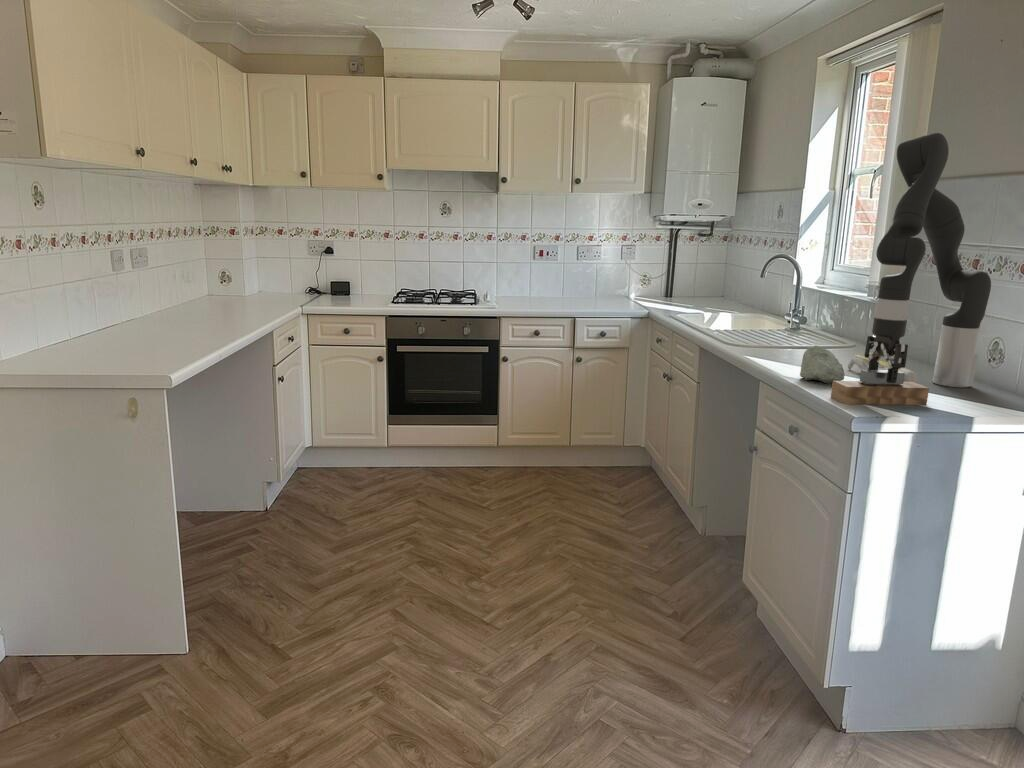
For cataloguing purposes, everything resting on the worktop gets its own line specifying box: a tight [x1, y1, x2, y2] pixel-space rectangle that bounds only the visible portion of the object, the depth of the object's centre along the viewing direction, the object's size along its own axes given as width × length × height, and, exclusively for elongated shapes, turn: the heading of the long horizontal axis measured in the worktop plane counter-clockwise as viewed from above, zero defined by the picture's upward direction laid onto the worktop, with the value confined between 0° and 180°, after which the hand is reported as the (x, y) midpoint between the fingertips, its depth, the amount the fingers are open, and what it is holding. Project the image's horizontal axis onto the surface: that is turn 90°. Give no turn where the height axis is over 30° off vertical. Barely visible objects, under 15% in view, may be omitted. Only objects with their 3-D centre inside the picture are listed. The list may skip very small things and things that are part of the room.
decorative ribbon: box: [847, 354, 918, 383], centre depth 212 cm, size 8×6×30 cm
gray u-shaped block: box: [859, 369, 905, 386], centre depth 185 cm, size 10×3×8 cm, turn 94°
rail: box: [830, 380, 930, 406], centre depth 186 cm, size 22×7×4 cm, turn 94°
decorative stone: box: [799, 344, 846, 385], centre depth 208 cm, size 14×11×10 cm
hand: (881, 379), depth 185 cm, fingers open, 8 cm apart
